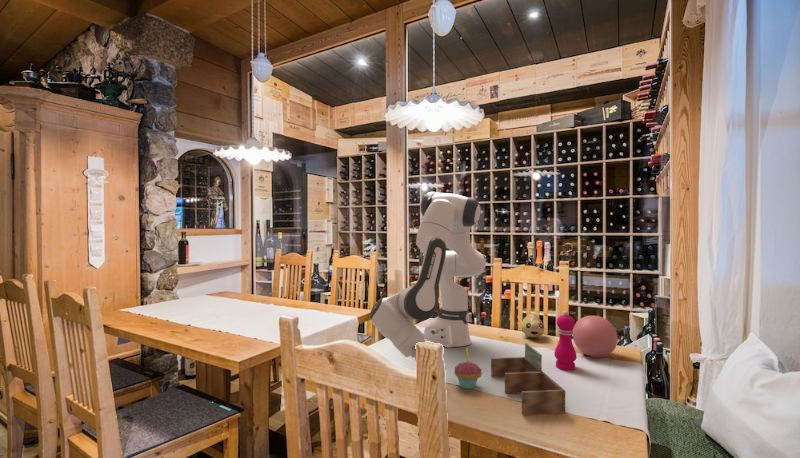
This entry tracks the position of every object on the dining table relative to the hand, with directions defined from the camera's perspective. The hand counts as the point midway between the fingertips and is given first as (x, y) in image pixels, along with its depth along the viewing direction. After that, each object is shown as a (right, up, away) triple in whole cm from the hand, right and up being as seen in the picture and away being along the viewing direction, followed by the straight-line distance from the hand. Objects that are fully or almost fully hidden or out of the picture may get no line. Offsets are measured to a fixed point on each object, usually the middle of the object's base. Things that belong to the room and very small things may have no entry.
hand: (442, 372), depth 123 cm
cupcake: (+8, -5, +1) cm, 9 cm away
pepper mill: (+45, -4, +16) cm, 48 cm away
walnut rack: (+24, -4, -4) cm, 25 cm away
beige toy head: (+45, -4, +51) cm, 68 cm away
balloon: (+61, -4, +30) cm, 68 cm away
